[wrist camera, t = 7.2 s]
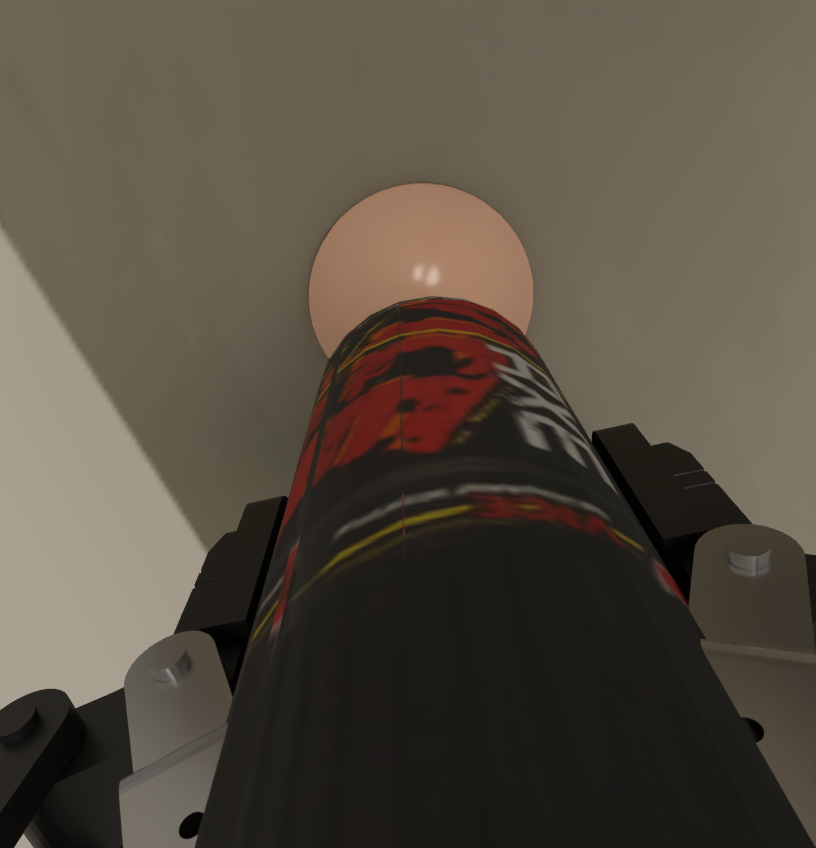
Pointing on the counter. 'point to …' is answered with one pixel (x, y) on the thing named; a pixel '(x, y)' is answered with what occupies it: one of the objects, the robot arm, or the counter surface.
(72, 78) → the counter surface
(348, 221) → the coaster
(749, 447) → the counter surface
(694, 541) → the robot arm
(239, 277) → the counter surface
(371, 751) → the deodorant
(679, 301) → the counter surface
